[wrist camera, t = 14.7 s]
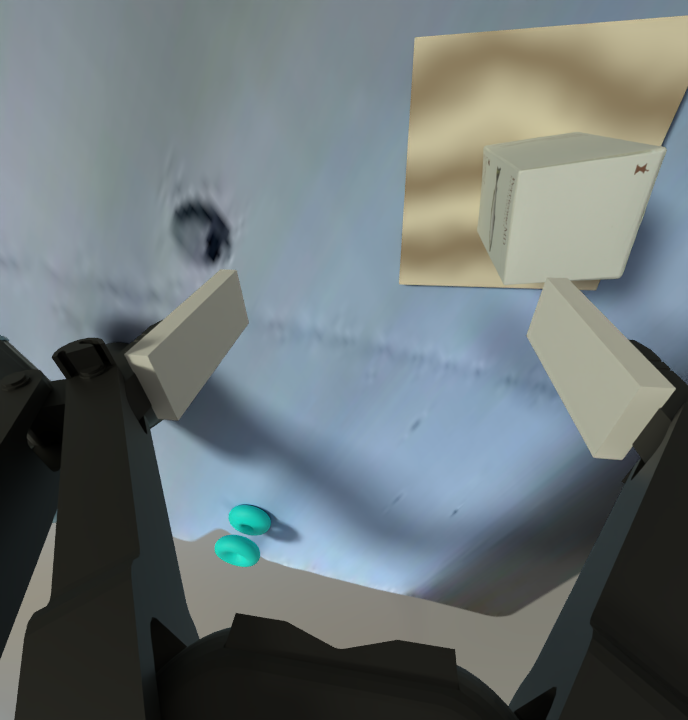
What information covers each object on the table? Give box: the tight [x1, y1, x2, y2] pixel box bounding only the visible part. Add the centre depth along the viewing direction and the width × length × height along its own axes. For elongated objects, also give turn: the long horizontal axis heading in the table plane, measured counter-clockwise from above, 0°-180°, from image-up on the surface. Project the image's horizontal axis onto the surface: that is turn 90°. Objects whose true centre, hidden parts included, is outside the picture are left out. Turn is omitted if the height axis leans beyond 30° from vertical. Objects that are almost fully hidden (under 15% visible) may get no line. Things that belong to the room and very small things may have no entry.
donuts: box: [215, 505, 271, 567], centre depth 75 cm, size 10×10×10 cm
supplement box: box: [477, 132, 667, 285], centre depth 25 cm, size 7×7×13 cm
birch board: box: [399, 16, 688, 290], centre depth 30 cm, size 20×20×1 cm
